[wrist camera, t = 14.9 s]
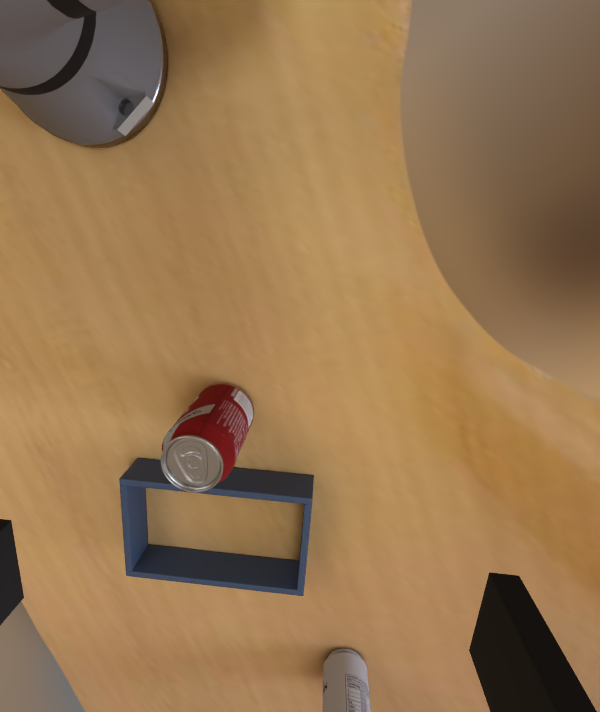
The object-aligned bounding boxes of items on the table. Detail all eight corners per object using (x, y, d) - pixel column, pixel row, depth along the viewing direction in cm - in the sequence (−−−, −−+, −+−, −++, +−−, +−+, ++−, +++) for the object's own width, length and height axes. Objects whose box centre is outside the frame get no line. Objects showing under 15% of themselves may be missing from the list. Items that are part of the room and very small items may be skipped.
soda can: (248, 377, 44) (220, 424, 33) (260, 431, 46) (237, 494, 34) (190, 385, 45) (143, 435, 33) (205, 438, 47) (164, 502, 35)
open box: (137, 457, 48) (119, 478, 44) (313, 475, 47) (312, 498, 43) (142, 548, 52) (125, 576, 48) (305, 566, 51) (303, 596, 47)
